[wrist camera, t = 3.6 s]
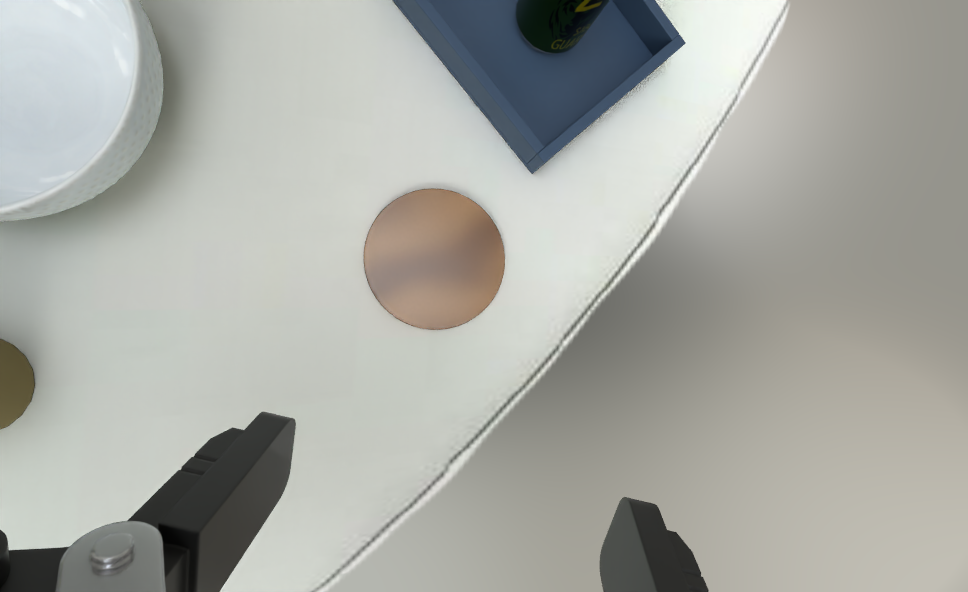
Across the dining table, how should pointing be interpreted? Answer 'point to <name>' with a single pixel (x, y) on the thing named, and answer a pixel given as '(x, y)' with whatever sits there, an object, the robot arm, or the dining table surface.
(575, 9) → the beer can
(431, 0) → the tray
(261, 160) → the dining table surface
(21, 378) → the pepper shaker
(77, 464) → the dining table surface
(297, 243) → the dining table surface
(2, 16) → the cereal bowl
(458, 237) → the coaster
